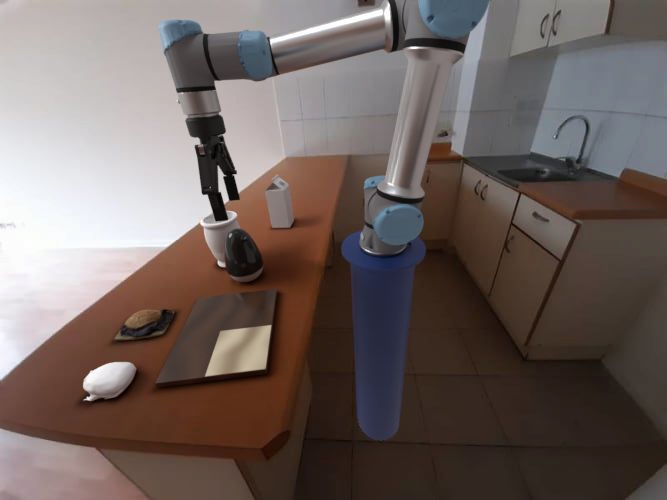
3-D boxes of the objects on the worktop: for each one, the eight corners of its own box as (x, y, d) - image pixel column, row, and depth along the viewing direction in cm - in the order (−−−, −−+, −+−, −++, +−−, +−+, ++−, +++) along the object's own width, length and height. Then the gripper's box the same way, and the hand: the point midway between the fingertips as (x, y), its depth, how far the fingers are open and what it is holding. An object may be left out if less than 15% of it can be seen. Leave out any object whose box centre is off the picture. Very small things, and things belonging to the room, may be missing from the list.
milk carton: (272, 228, 107) (262, 179, 97) (277, 220, 113) (268, 174, 103) (289, 228, 106) (281, 179, 96) (294, 220, 112) (287, 173, 102)
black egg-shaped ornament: (243, 292, 73) (228, 242, 66) (223, 279, 80) (207, 231, 72) (273, 274, 80) (263, 226, 72) (252, 263, 86) (241, 218, 78)
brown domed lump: (113, 343, 61) (105, 332, 59) (133, 316, 68) (126, 305, 66) (162, 337, 62) (156, 325, 60) (177, 311, 69) (171, 299, 67)
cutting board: (277, 293, 72) (276, 288, 72) (267, 374, 52) (265, 368, 51) (199, 301, 71) (197, 296, 71) (157, 388, 51) (154, 382, 50)
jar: (217, 255, 92) (203, 213, 84) (249, 250, 93) (238, 208, 86) (212, 272, 83) (195, 227, 75) (247, 267, 84) (235, 222, 77)
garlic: (78, 404, 49) (66, 391, 47) (103, 370, 55) (94, 357, 53) (124, 399, 49) (114, 387, 47) (144, 366, 55) (136, 354, 53)
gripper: (203, 112, 69) (225, 194, 80) (158, 122, 48) (197, 233, 58) (234, 110, 69) (251, 192, 80) (203, 119, 48) (233, 229, 59)
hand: (228, 209), depth 69 cm, fingers open, 13 cm apart
